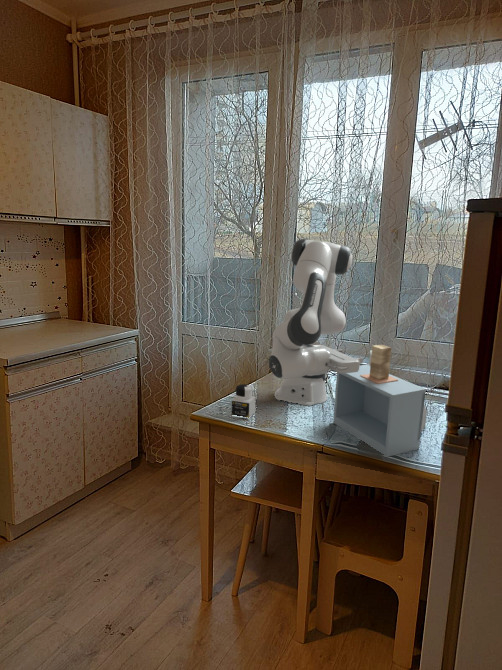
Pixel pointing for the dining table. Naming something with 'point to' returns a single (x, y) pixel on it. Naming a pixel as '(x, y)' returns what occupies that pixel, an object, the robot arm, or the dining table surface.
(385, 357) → the oak block
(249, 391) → the medicine bottle
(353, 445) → the dining table surface
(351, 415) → the cubby
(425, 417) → the tea bag
